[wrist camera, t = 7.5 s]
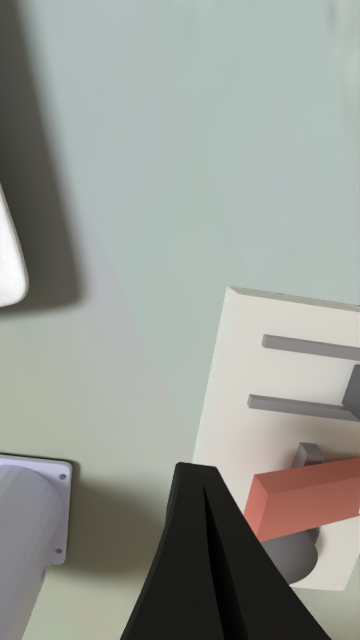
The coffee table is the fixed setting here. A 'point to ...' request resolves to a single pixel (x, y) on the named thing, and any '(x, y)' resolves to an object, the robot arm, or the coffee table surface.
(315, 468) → the plate
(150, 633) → the robot arm
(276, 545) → the button
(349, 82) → the coffee table surface
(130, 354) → the coffee table surface
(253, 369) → the panel
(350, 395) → the slider
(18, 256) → the salad plate
